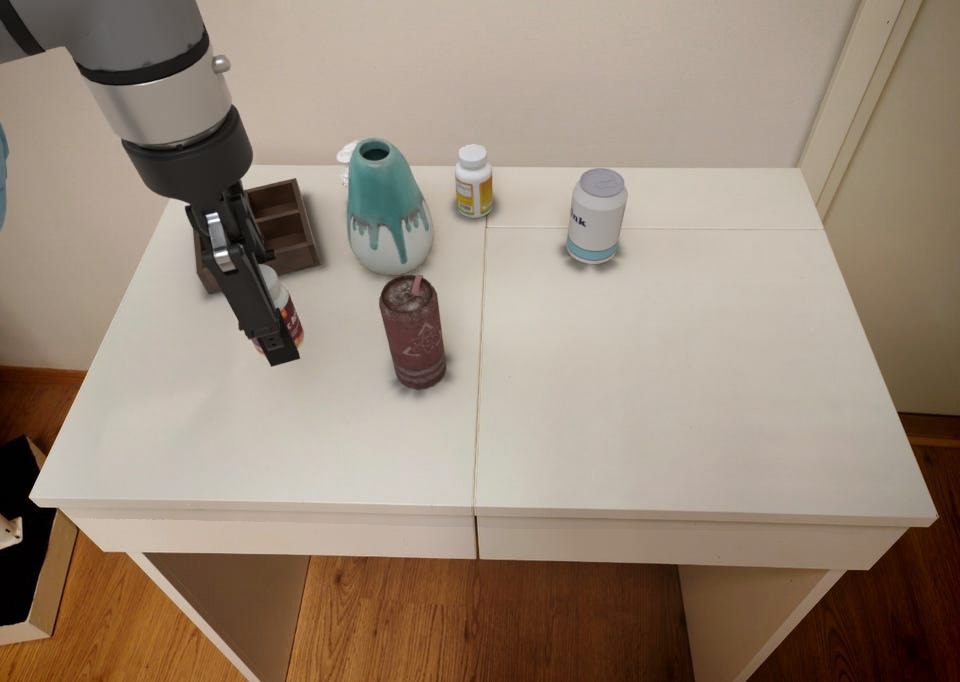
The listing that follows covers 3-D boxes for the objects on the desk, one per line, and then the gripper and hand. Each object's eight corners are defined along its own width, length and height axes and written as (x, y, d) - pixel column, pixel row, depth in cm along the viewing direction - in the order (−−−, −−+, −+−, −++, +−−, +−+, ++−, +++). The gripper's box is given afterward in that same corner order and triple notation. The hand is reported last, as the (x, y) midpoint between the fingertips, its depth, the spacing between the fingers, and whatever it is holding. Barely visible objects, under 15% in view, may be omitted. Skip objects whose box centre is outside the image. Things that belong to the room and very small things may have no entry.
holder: (208, 294, 81) (196, 273, 77) (201, 223, 90) (190, 202, 86) (320, 264, 83) (313, 243, 80) (303, 198, 92) (295, 177, 89)
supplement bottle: (490, 193, 92) (489, 138, 84) (495, 216, 89) (494, 161, 81) (455, 197, 91) (451, 142, 84) (459, 220, 88) (455, 165, 81)
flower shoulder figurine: (373, 227, 88) (357, 158, 78) (346, 228, 88) (328, 159, 78) (378, 189, 93) (364, 120, 84) (353, 189, 93) (337, 121, 84)
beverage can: (559, 240, 85) (566, 170, 76) (604, 230, 86) (617, 160, 76) (575, 273, 81) (585, 204, 71) (623, 263, 82) (639, 193, 72)
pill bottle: (288, 365, 55) (260, 307, 49) (245, 351, 56) (212, 292, 50) (315, 328, 58) (291, 267, 51) (273, 315, 59) (245, 254, 52)
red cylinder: (452, 353, 73) (444, 274, 62) (438, 395, 70) (427, 320, 59) (405, 345, 74) (389, 265, 63) (389, 386, 71) (369, 310, 59)
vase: (451, 266, 83) (441, 156, 68) (375, 299, 79) (348, 190, 65) (413, 218, 89) (397, 109, 74) (342, 247, 85) (310, 138, 71)
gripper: (249, 186, 34) (337, 401, 52) (226, 45, 44) (306, 266, 63) (111, 217, 33) (251, 426, 51) (120, 64, 43) (234, 284, 62)
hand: (281, 337), depth 57 cm, fingers closed on pill bottle, 5 cm apart
